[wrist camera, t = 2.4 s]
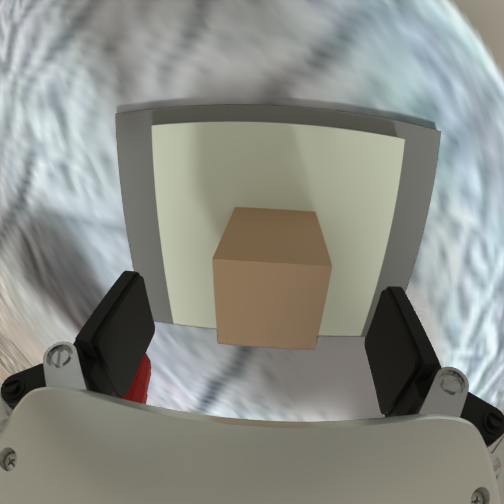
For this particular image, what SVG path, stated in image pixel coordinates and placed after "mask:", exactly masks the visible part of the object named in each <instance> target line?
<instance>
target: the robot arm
mask: <svg viewBox="0 0 504 504" xmlns="http://www.w3.org/2000/svg"><path fill="white" fill-rule="evenodd" d="M154 332H155V324H154V321H153V317H152V312H151V308H150V304H149V300H148V296H147V291H146V287H145V282H144V278H143V276H140V274H139V272H134V271H124V272H123V273H122V274H121V276H120V277H119V278H118V280H117V281H116V282H115V283H114V285H113V286H112V287H111V289H110V290H109V291H108V293H107V294H106V296H105V297H104V298H103V300H102V301H101V302H100V304H99V305H98V307H97V308H96V309H95V311H94V312H93V314H92V315H91V316H90V318H89V319H88V321H87V322H86V324H85V325H84V327H83V328H82V329H81V331H80V332H79V334H78V335H77V337H76V338H75V339H76V341H75V342H74V344H72V343H69V342H63V341H62V342H58V343H55V344H53V345H52V346H50V347H49V348H48V349H47V350H46V352H45V354H44V356H43V363H42V364H39V365H37V366H34V367H32V368H29V369H27V370H24V371H21V372H19V373H16V374H14V375H11V376H10V377H8V378H7V379H6V380H5V381H4V383H3V384H2V387H1V394H0V504H504V415H503V414H502V412H501V411H500V410H498V409H497V408H495V407H494V406H492V405H490V404H489V403H487V402H485V401H483V400H482V399H480V398H478V397H477V396H475V395H473V394H471V393H470V392H468V389H469V384H468V380H467V378H466V376H465V375H464V374H463V373H462V372H461V371H460V370H458V369H456V368H453V367H444V368H441V366H440V363H439V360H438V358H437V356H436V354H435V352H434V349H433V347H432V345H431V343H430V341H429V339H428V337H427V335H426V332H425V330H424V328H423V326H422V324H421V322H420V320H419V318H418V316H417V314H416V312H415V311H414V309H413V307H412V305H411V303H410V301H409V299H408V297H407V295H406V294H405V292H404V290H403V288H402V287H399V286H388V287H387V288H386V290H383V291H382V292H381V295H380V298H379V301H378V304H377V307H376V310H375V313H374V316H373V319H372V322H371V324H370V327H369V330H368V333H367V335H366V338H365V350H366V353H367V357H368V361H369V365H370V369H371V373H372V377H373V381H374V385H375V389H376V394H377V398H378V402H379V407H380V411H381V413H382V414H385V418H375V419H362V420H347V421H324V422H287V421H262V420H248V419H236V418H226V417H217V416H209V415H202V414H195V413H189V412H182V411H177V410H171V409H166V408H161V407H156V406H151V405H146V404H142V403H138V402H133V401H129V400H124V399H122V398H123V396H126V395H127V394H128V392H129V390H130V387H131V385H132V383H133V380H134V378H135V376H136V373H137V371H138V369H139V366H140V364H141V362H142V359H143V357H144V355H145V353H146V351H147V348H148V346H149V344H150V342H151V339H152V337H153V335H154Z"/></svg>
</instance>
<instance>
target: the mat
mask: <svg viewBox="0 0 504 504" xmlns="http://www.w3.org/2000/svg"><path fill="white" fill-rule="evenodd" d="M115 116H116V138H117V153H118V165H119V176H120V185H121V194H122V202H123V209H124V216H125V223H126V229H127V236H128V241H129V247H130V253H131V258H132V263H133V268H134V272H139V274H140V276H143V278H144V282H145V287H146V291H147V296H148V300H149V304H150V308H151V312H152V317H153V321H155V322H162V323H169V324H174V323H173V318H172V312H171V307H170V301H169V295H168V289H167V283H166V276H165V270H164V263H163V256H162V248H161V240H160V232H159V223H158V214H157V204H156V193H155V180H154V166H153V149H152V126H153V125H159V124H172V123H190V122H271V123H290V124H303V125H315V126H325V127H334V128H342V129H350V130H357V131H364V132H370V133H376V134H382V135H388V136H393V137H398V138H402V139H405V144H404V152H403V160H402V167H401V174H400V181H399V187H398V193H397V199H396V204H395V210H394V215H393V220H392V225H391V229H390V234H389V238H388V243H387V247H386V251H385V255H384V259H383V263H382V267H381V271H380V275H379V278H378V282H377V286H376V289H375V292H374V296H373V299H372V303H371V306H370V309H369V312H368V315H367V318H366V321H365V325H364V328H363V330H362V333H361V336H366V335H367V333H368V330H369V327H370V324H371V322H372V319H373V316H374V313H375V310H376V307H377V304H378V301H379V298H380V295H381V292H382V291H383V290H386V288H387V287H388V286H399V287H402V288H403V290H404V292H406V289H407V286H408V283H409V280H410V277H411V273H412V270H413V267H414V264H415V260H416V257H417V253H418V250H419V246H420V242H421V239H422V235H423V231H424V227H425V223H426V218H427V214H428V210H429V205H430V200H431V195H432V190H433V185H434V179H435V173H436V167H437V160H438V153H439V145H440V136H441V131H438V130H434V129H430V128H427V127H423V126H419V125H414V124H410V123H406V122H401V121H396V120H391V119H386V118H381V117H376V116H370V115H364V114H358V113H351V112H344V111H336V110H328V109H318V108H308V107H295V106H279V105H249V104H226V105H196V106H180V107H168V108H157V109H148V110H140V111H132V112H125V113H118V114H115ZM177 325H180V324H177ZM184 326H188V325H184ZM193 327H196V326H193ZM201 328H205V327H201ZM210 329H215V328H210ZM318 336H323V335H318Z"/></svg>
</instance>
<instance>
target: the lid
mask: <svg viewBox="0 0 504 504" xmlns="http://www.w3.org/2000/svg"><path fill="white" fill-rule="evenodd" d="M404 144H405V139H402V138H398V137H393V136H388V135H382V134H376V133H370V132H364V131H357V130H350V129H342V128H334V127H325V126H315V125H303V124H290V123H271V122H190V123H172V124H159V125H153V126H152V149H153V166H154V180H155V193H156V204H157V214H158V223H159V232H160V240H161V248H162V256H163V263H164V270H165V276H166V283H167V289H168V295H169V301H170V307H171V312H172V318H173V323H174V324H180V325H188V326H196V327H205V328H215V329H217V340H218V343H219V344H229V345H240V346H252V347H266V348H282V349H305V350H315V347H316V342H317V338H318V335H323V336H361V333H362V330H363V328H364V325H365V321H366V318H367V315H368V312H369V309H370V306H371V303H372V299H373V296H374V292H375V289H376V286H377V282H378V278H379V275H380V271H381V267H382V263H383V259H384V255H385V251H386V247H387V243H388V238H389V234H390V229H391V225H392V220H393V215H394V210H395V204H396V199H397V193H398V187H399V181H400V174H401V167H402V160H403V152H404Z"/></svg>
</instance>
